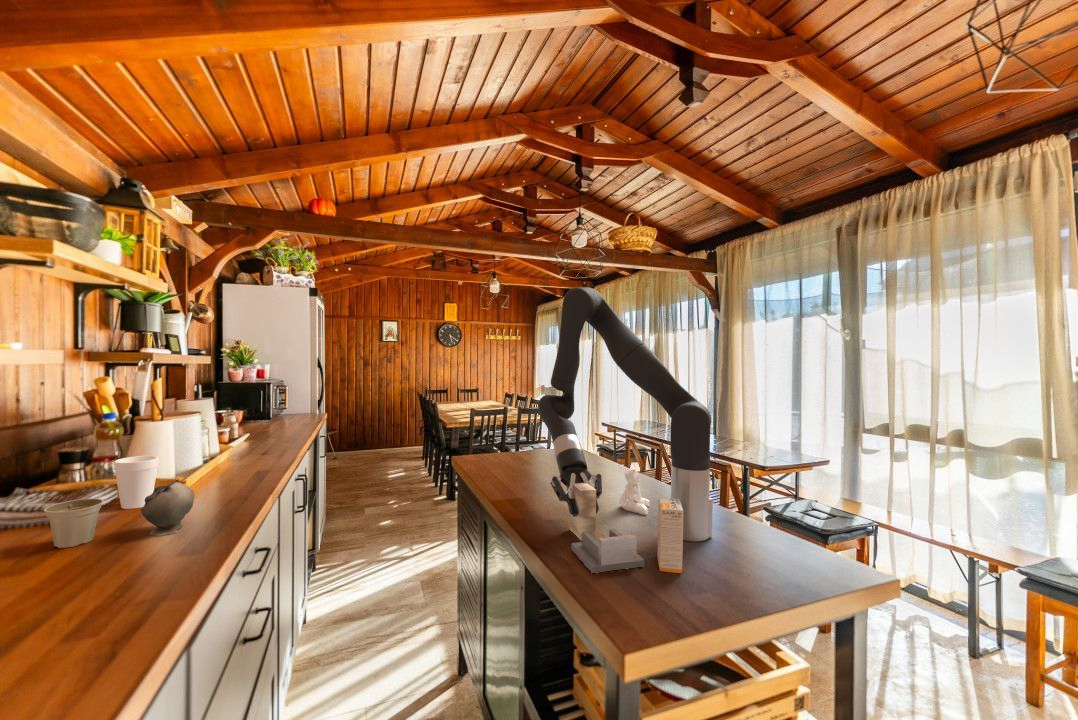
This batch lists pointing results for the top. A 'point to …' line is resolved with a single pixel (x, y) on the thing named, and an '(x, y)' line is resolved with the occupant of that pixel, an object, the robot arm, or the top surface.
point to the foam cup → (135, 479)
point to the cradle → (608, 552)
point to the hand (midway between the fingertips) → (585, 514)
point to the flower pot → (73, 521)
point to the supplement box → (670, 535)
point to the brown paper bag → (584, 510)
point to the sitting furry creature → (633, 494)
